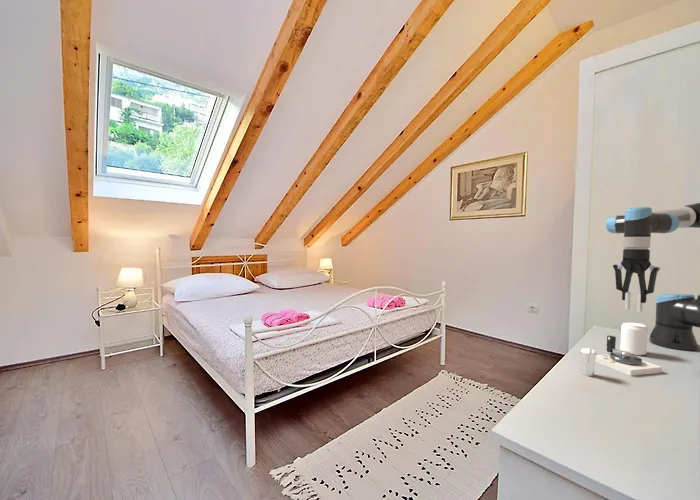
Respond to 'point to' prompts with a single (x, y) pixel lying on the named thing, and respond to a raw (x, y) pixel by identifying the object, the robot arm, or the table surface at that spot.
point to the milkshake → (588, 361)
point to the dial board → (628, 366)
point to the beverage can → (633, 338)
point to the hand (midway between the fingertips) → (633, 310)
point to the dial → (621, 353)
